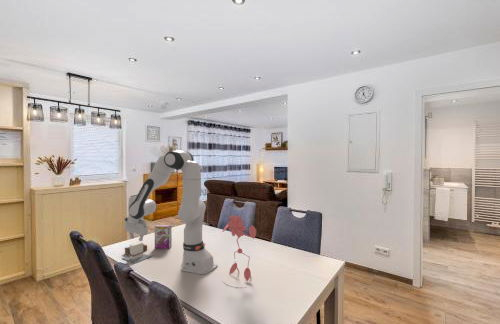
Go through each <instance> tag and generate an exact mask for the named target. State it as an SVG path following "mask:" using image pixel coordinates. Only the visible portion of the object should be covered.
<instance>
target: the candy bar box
mask: <svg viewBox="0 0 500 324" xmlns="http://www.w3.org/2000/svg"><path fill="white" fill-rule="evenodd" d="M172 246H173V245H172V224H156V225H155V226H154V249H162V250H163V249H165V250H167V249H168V250H169V249H170V248H172Z"/></svg>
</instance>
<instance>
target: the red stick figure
mask: <svg viewBox="0 0 500 324" xmlns="http://www.w3.org/2000/svg"><path fill="white" fill-rule="evenodd" d="M227 229H228V230H229V231H231V232H230V233H231V235H232V237H235V236H237V237H236V243H237V246H238V249H237V250H236V251H234V252H233V253H234V255H233V256H234V258H236V253H238V254H240V255H241V254H243V255H245V256H246V257H248V263H247V267H246V268H245V269H244V271H243V278H244V279H245V281H246V282H248V281H249V280H250V278H252V276H251V275H252V274H251V269H250V268H249V264H250V258H251V257H250V256H249V255H247V254H245V253H243V248H240V245H239V239H240V238H241V237H243V236H247V237H249V238H252V239H253V240H254V239H256V236H257V228H256V227H255V226H254V225H253V224H251V225H250V226H249V229H248V233H249V235H248V234H245V231H246V226H244V221H243V220H242V217H241V215H238V216H236V215H235V214H232V215H230V216H229V220H228V221H227V224H226V225H225V227H223V229H222V233H223V232H225V231H226V230H227ZM236 270H237V272H238V273H240V270H239V268H238V263H237V262H234V263H233V264H232V265H231V267H230V268H229V273H228V274H229V275H231V274H234V272H235V271H236ZM225 286H227V287H231V288H232V287H233V286H232V285H229V284H226V283H225ZM235 288H236V289H242V288H243V289H244V288H247V287H246V286H244V287H236V286H235Z"/></svg>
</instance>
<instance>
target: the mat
mask: <svg viewBox="0 0 500 324" xmlns="http://www.w3.org/2000/svg"><path fill="white" fill-rule="evenodd" d="M149 258H152V255H149V254H146V253H143V256H142V257H139V258H137V259H134V260H133V259H130V255H127V256H124V257H121V259H122V260H124V261H125V262H129V263H131V264H138V263H139V262H142V261H145V260H147V259H149Z"/></svg>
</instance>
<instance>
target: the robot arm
mask: <svg viewBox="0 0 500 324" xmlns="http://www.w3.org/2000/svg"><path fill="white" fill-rule="evenodd" d="M173 170H176V171H179V170H180V171H181V173H182V195H181V196H182V197H181V200H180V201H181V203H180V207H179V209H178V211H177V217H178V219H179V221H180V222H182V223H184V224H185V226H184V227H183V243H182V248H183V252H182V253H183V254H182V262H181V267H180V270H181V271H182V272H187V273H192V274H198V275H205V274H208V273H210V272H213V271H214V270H215V269H217V268H218V263H217V262H215V261H214V257H213V255H212V254H211V252H209V250H208V249H206V244H207V243H204V241H203V226H204V219H205V212H206V208H207V206H206V204H205V202H204V201H203V200H201V199H200V198H201V197H200V196H201V194H202V173H201V168H200V164H199V163H198V162H197V161H196V160H194V156H193V154H192V153H191V152H189V151H185V150H169V151H168V152H166V153H165V154H162V155H160V156H159V157H158V159H157V160H156V162H155V164H154V166H153V169H152V170H151V172H150V174H149V176H148V177H147V179H146V180H145V181H144V182H143V184H142V186H141V188H140V190H139V192H138V193H137V194H134V195H130V196H129V197H128V207H127V208H128V216H126V217H124V229H125V232H127V233H128V235H129V236H130V240H131V239H135V235H134V234H136V235H139V238H138V242H143V241H144V236H147V235H148V233H149V230H148V224H147V222H146V221H145V220H144V217H146V216H149V215H152V214H153V213H155V212H156V211H157V203H156V201H155V200H154V199H150V197H149V196H150V195H151V193H152V192H153V191H155V190H156V189H158V188H159V187H162V186H164V185H166V184H167V182H168V181H169V178H170V176H171V175H172V172H173Z"/></svg>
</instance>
